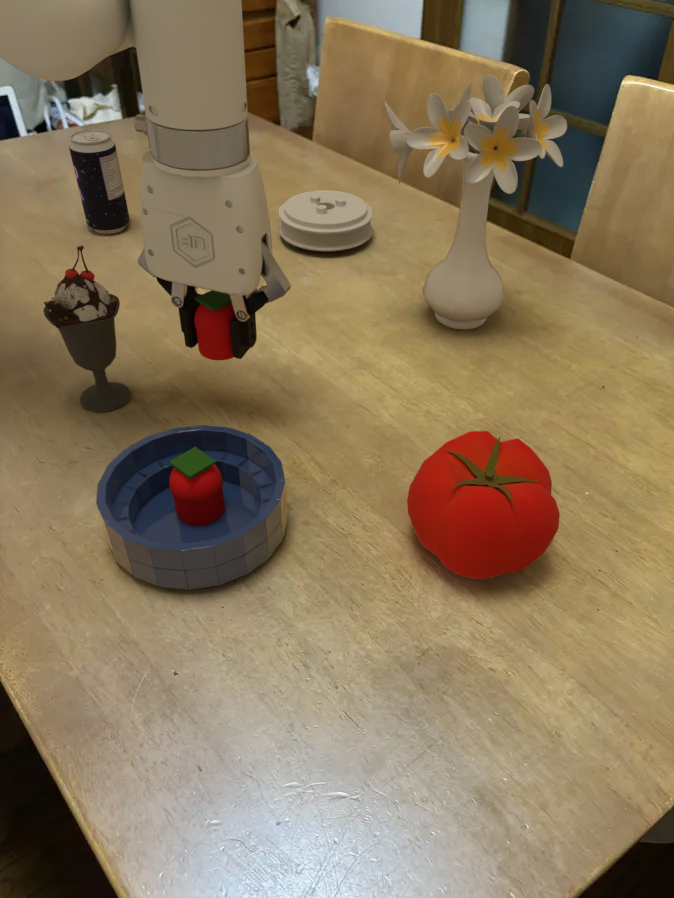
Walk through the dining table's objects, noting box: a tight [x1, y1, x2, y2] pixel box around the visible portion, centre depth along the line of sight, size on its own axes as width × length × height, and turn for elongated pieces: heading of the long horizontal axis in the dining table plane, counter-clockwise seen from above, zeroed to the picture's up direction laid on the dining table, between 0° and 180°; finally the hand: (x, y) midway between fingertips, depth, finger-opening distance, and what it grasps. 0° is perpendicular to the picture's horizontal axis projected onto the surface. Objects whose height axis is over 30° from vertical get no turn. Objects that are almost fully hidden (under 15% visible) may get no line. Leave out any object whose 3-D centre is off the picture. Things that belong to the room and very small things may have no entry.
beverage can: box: [68, 128, 131, 235], centre depth 99 cm, size 6×6×12 cm
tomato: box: [406, 430, 561, 581], centre depth 59 cm, size 11×12×9 cm
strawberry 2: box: [169, 447, 225, 526], centre depth 61 cm, size 4×4×5 cm
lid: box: [277, 189, 374, 252], centre depth 101 cm, size 13×13×5 cm
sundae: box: [43, 245, 132, 413], centre depth 70 cm, size 7×7×15 cm
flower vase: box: [384, 74, 568, 331], centre depth 80 cm, size 13×18×25 cm
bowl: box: [95, 424, 289, 591], centre depth 61 cm, size 14×14×5 cm
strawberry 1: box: [194, 290, 235, 361], centre depth 69 cm, size 4×4×5 cm
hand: (220, 343), depth 70 cm, fingers closed on strawberry 1, 4 cm apart
